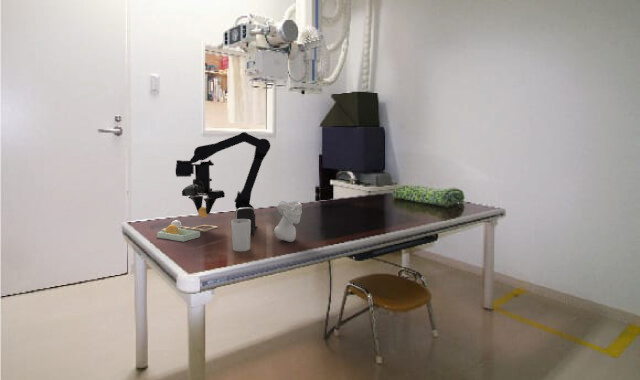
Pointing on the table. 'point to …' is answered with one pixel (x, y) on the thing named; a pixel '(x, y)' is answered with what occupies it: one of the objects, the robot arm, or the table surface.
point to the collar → (204, 226)
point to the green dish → (179, 235)
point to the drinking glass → (241, 234)
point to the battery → (246, 216)
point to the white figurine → (288, 220)
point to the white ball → (176, 223)
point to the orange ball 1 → (172, 229)
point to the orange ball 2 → (202, 212)
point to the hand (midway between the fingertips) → (203, 213)
